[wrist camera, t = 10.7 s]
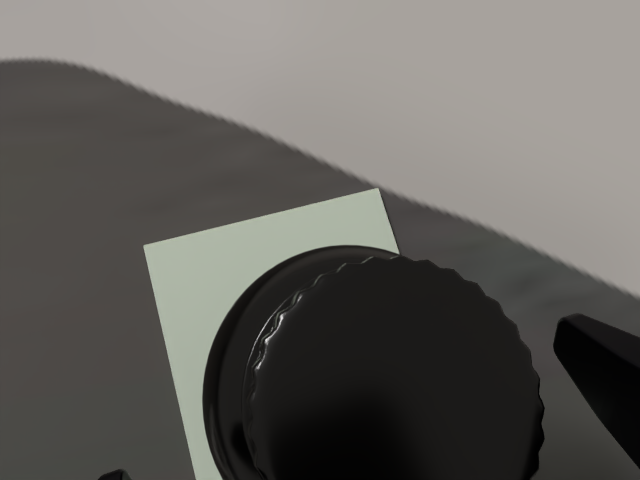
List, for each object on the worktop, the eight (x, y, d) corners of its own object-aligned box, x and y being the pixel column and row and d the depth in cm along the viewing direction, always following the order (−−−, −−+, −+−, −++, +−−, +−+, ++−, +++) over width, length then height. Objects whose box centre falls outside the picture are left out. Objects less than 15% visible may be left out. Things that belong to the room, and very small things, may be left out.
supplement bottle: (393, 474, 19) (620, 684, 7) (212, 463, 18) (127, 674, 6) (401, 295, 20) (598, 221, 9) (235, 278, 19) (202, 172, 8)
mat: (473, 496, 19) (479, 500, 19) (223, 591, 17) (223, 598, 17) (375, 191, 22) (378, 188, 21) (146, 248, 20) (143, 245, 19)
